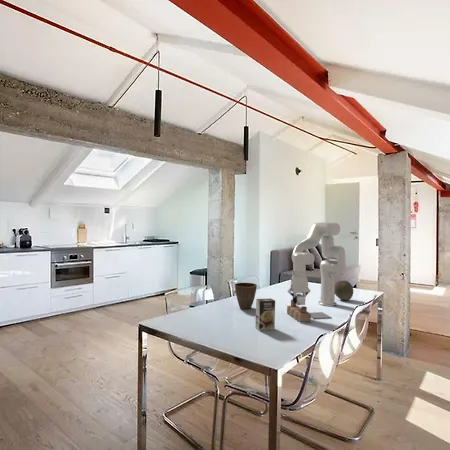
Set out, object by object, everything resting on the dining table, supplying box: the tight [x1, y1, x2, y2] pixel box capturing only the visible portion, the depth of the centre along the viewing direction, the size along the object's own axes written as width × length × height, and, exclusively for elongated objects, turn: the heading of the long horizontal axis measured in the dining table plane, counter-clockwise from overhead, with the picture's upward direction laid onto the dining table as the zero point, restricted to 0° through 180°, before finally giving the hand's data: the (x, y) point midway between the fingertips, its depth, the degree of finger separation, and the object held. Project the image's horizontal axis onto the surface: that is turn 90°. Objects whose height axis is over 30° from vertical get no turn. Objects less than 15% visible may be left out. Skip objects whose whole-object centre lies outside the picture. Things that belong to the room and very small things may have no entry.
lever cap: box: [296, 293, 306, 306], centre depth 210 cm, size 7×5×6 cm
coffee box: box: [254, 297, 276, 332], centre depth 187 cm, size 9×6×16 cm
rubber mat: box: [309, 311, 333, 320], centre depth 214 cm, size 12×12×1 cm
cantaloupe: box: [335, 280, 354, 301], centre depth 259 cm, size 14×14×15 cm
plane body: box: [286, 299, 312, 323], centre depth 210 cm, size 20×7×9 cm, turn 11°
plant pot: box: [234, 282, 258, 311], centre depth 230 cm, size 15×15×16 cm
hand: (298, 302), depth 210 cm, fingers closed on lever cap, 5 cm apart
